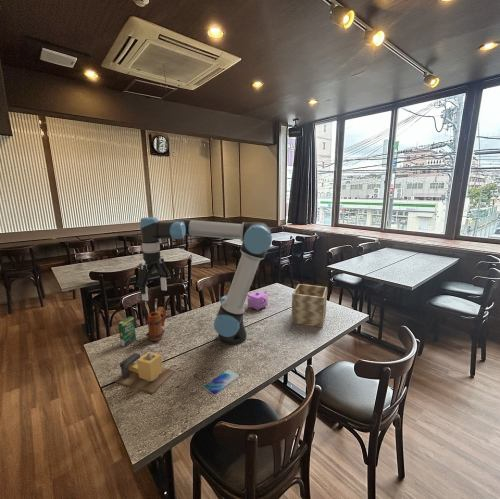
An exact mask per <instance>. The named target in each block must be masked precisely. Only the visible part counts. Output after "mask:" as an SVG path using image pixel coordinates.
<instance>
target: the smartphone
mask: <svg viewBox="0 0 500 499" xmlns="http://www.w3.org/2000/svg"><path fill="white" fill-rule="evenodd" d="M239 378H241V374H239V373H238V372H236V371H234V370H233V369H231V368H227V369H226V370H225V371H223V372H222V373H220V374H219V375H217V376H216V377H214V378H213V379H211V380H210V381H209V382H207V383H205V385H203V389H204V390H205V391H207V392H208V393H210V394H211V395H212V396H218V394H220V393H221V392H222V391H224V390H225V389H226V388H228V387H229V386H230V385H232V384H233V383H234V382H236V381H237V380H238V379H239Z"/></svg>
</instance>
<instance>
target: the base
mask: <svg viewBox="0 0 500 499" xmlns="http://www.w3.org/2000/svg"><path fill="white" fill-rule="evenodd" d="M139 358H141V354H140V353H136V352H134V353H132V354H131V355H130V356H128V357H127V358H125V359H124V360H122V361H121V362H120V363H119V368H120V371H121V372H120V373H121V375H120V376H119V377H118V378H116V379H115V380H114V382H115V383H117V384H120V385H123V386H126V387H129V388H133V389H135V390H139V391H141V392H145V393H148V394H151V395H153V394H155V392H156V391H157V390H159V389H160V387H161V386H163V385H164V384H165V382H166V381H168V380H169V378H171V377H172V375H174V373H176V371H175V369H171V368H168V367H164V366H162V373H160V374H159V375H158V376H157V377H156V378H155V379H154V380H153V381H149V380H146V379H142V378H139V373H137V372H133V371H130V370H129V366H130V365H131V364H132V363H135V362H137V360H138V359H139ZM151 359H153V357H152V354H151V353H148V354H147V360H149V361H150V360H151ZM136 364H138V362H137V363H136Z"/></svg>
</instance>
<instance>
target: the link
mask: <svg viewBox="0 0 500 499" xmlns="http://www.w3.org/2000/svg"><path fill="white" fill-rule="evenodd" d="M148 353H151V354H152V357H153V359H151V360H150V361H149V360H147V354H148ZM136 362H137V363H138V364H137V363H135V362H134V363H132V364H131V365H130V366H129V370H130V371H133V372H137V373H139V378H142V379H146V380H149V381H153V380H154V379H155V378H156V377H157V376H158V375H159V374H160V373H162V367H163V363H162V362H163V361H162V354H159V353H156V352H152V351H148V352H145V354H144V355H141V356H140V358H139V359H137V360H136Z"/></svg>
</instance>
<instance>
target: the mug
mask: <svg viewBox="0 0 500 499" xmlns="http://www.w3.org/2000/svg"><path fill="white" fill-rule="evenodd" d="M165 322H166V310H165V308H164V306H159V307H158V308H157V309H156V311H151V312H150V313H148V314H147V319H146V320H145V324H147V326H148V332H147V333H146V334H145V335H146V337H148V338H149V341H151V342H156V341H160V340H161V339H162V338H163V336H164V333H165V332H166V331H165V330H164V328H163V327H164V326H165Z"/></svg>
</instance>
